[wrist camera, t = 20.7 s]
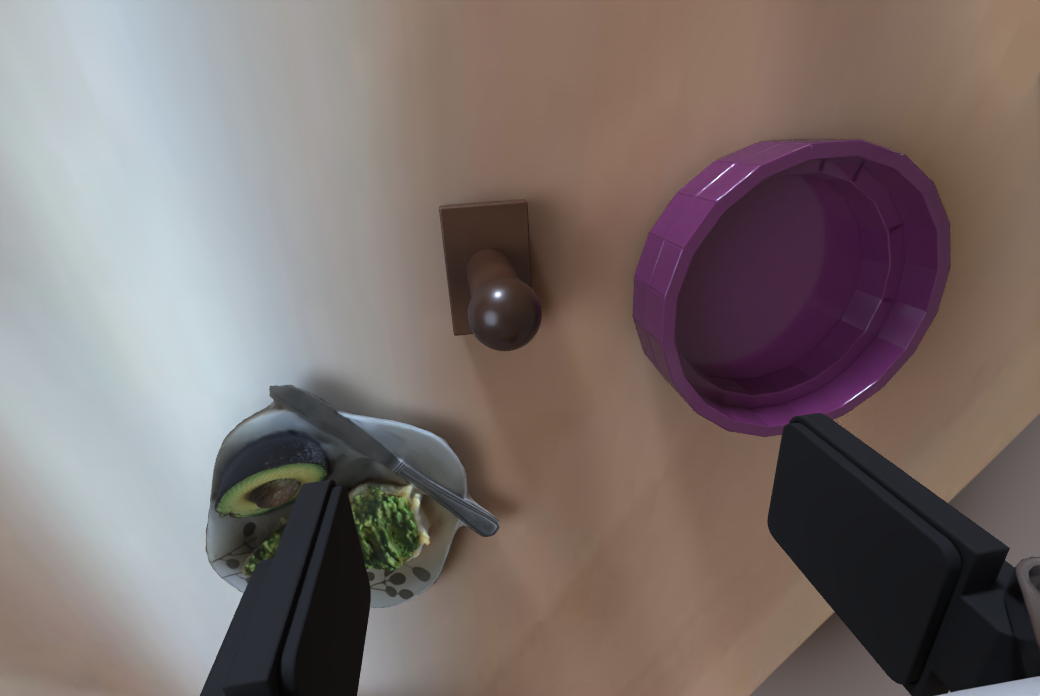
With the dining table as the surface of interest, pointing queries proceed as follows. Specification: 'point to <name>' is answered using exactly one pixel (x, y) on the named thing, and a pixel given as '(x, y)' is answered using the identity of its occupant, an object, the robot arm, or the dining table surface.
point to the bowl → (791, 280)
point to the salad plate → (351, 463)
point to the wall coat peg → (490, 272)
